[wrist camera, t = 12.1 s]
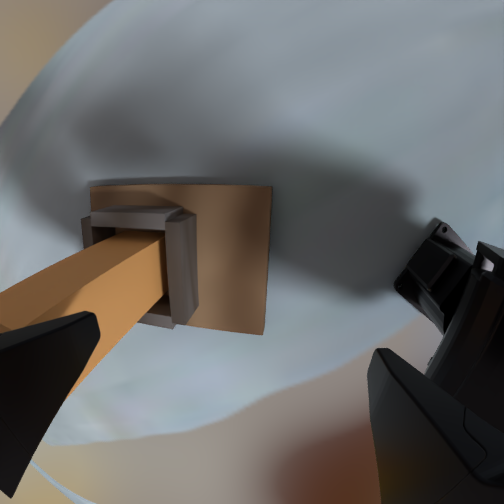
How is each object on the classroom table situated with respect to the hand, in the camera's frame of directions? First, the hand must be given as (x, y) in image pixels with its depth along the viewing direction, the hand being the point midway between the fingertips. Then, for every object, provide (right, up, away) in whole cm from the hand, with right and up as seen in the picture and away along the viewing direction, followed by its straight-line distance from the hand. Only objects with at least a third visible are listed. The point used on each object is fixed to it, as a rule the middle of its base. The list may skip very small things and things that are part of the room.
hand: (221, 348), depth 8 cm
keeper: (-5, +3, +14) cm, 15 cm away
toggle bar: (-7, +2, +13) cm, 15 cm away
